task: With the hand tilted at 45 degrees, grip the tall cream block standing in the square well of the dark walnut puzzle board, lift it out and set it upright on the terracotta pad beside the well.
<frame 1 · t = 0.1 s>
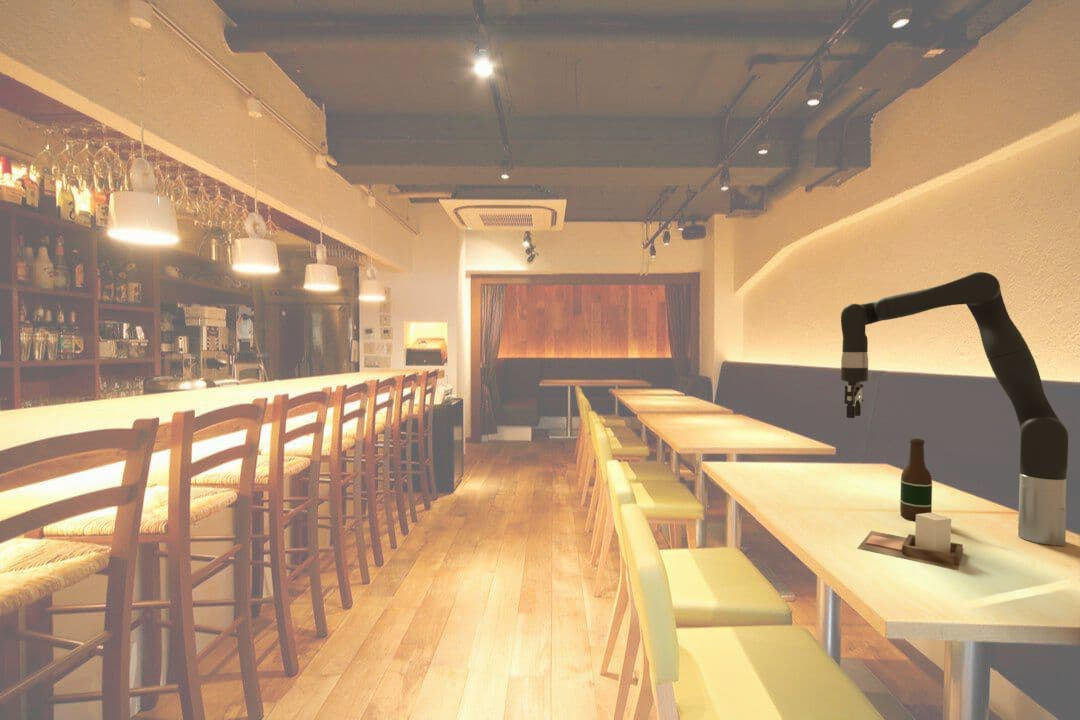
hand: (853, 416, 176), 29 cm above the table, tool pointing down, fingers open, 8 cm apart
beer bottle: (915, 518, 165), on the table
cream block: (932, 553, 133), point 1 cm above the table, touching puzzle board
puzzle board: (910, 553, 136), on the table
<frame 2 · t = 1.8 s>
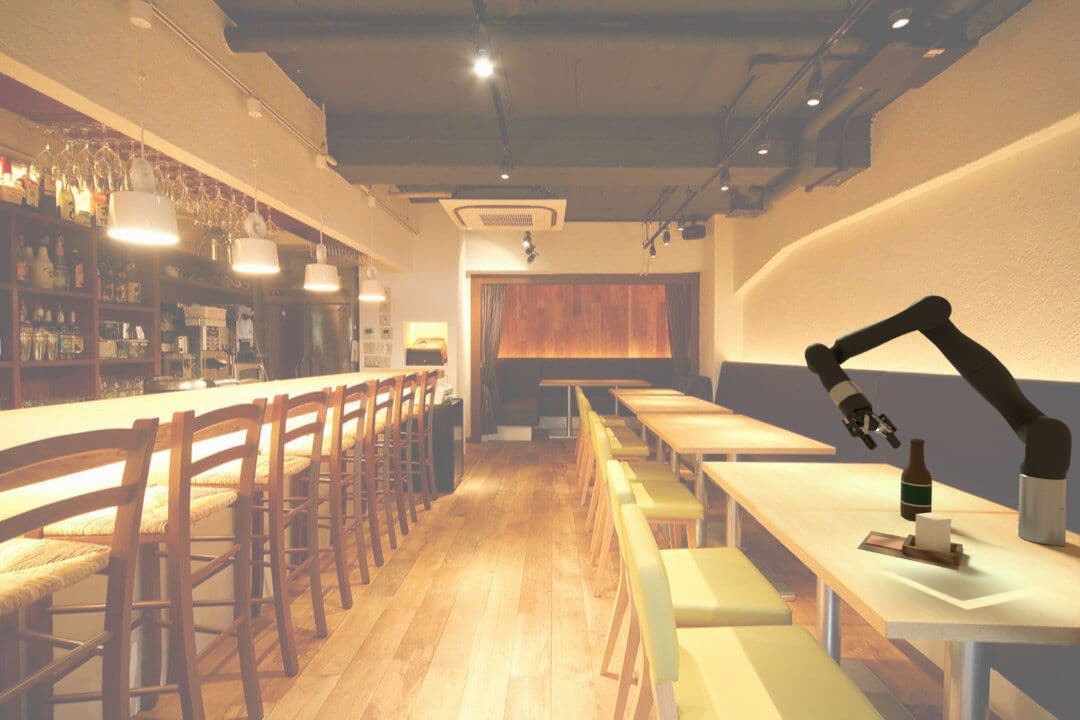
hand: (886, 447, 145), 25 cm above the table, tool tilted 45°, fingers open, 8 cm apart
nothing on the table moved.
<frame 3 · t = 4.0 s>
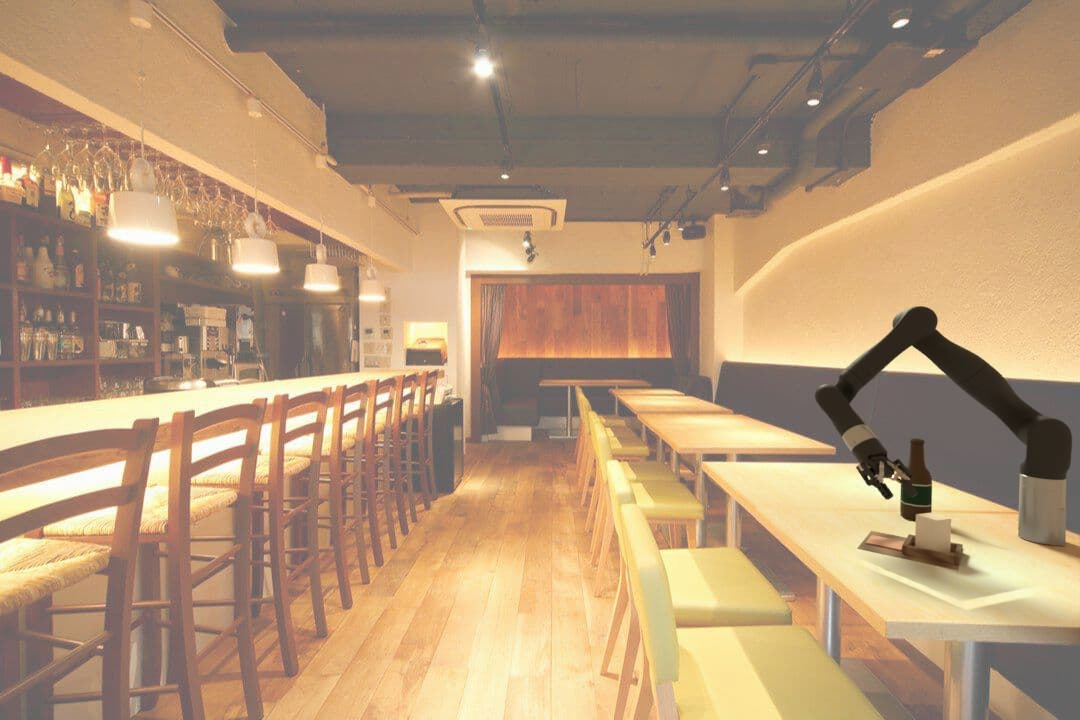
hand: (902, 496, 141), 13 cm above the table, tool tilted 45°, fingers open, 8 cm apart
nothing on the table moved.
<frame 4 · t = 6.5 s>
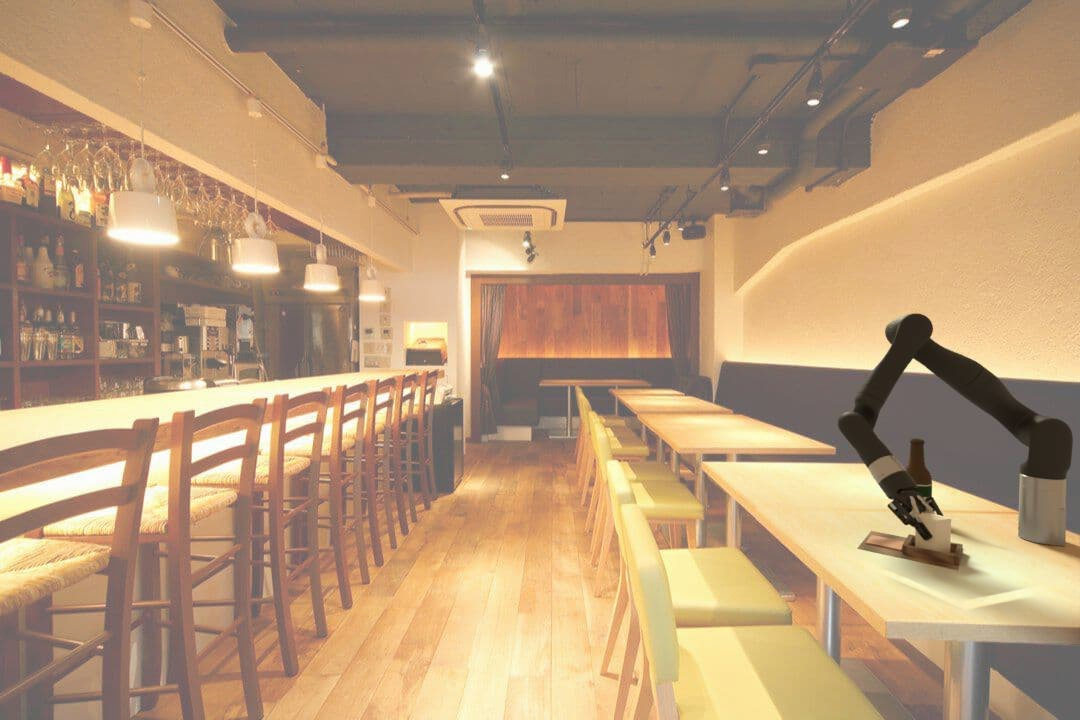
hand: (937, 537, 132), 5 cm above the table, tool tilted 45°, fingers closed on cream block, 5 cm apart
cream block: (932, 553, 133), point 1 cm above the table, touching gripper, puzzle board
everything else where it was.
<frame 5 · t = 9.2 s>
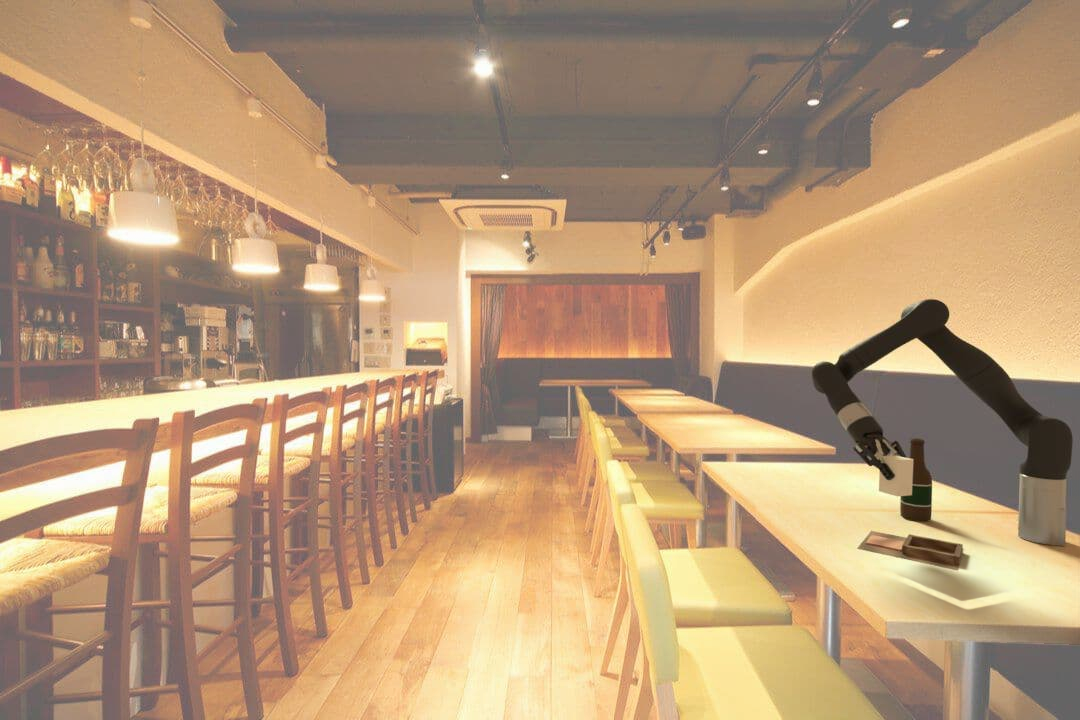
hand: (899, 477, 137), 19 cm above the table, tool tilted 45°, fingers closed on cream block, 5 cm apart
cream block: (895, 493, 138), point 15 cm above the table, touching gripper
everything else where it was.
when the fingers open (7 cm above the table, at t = 12.0 s): cream block drops 1 cm, resting on puzzle board.
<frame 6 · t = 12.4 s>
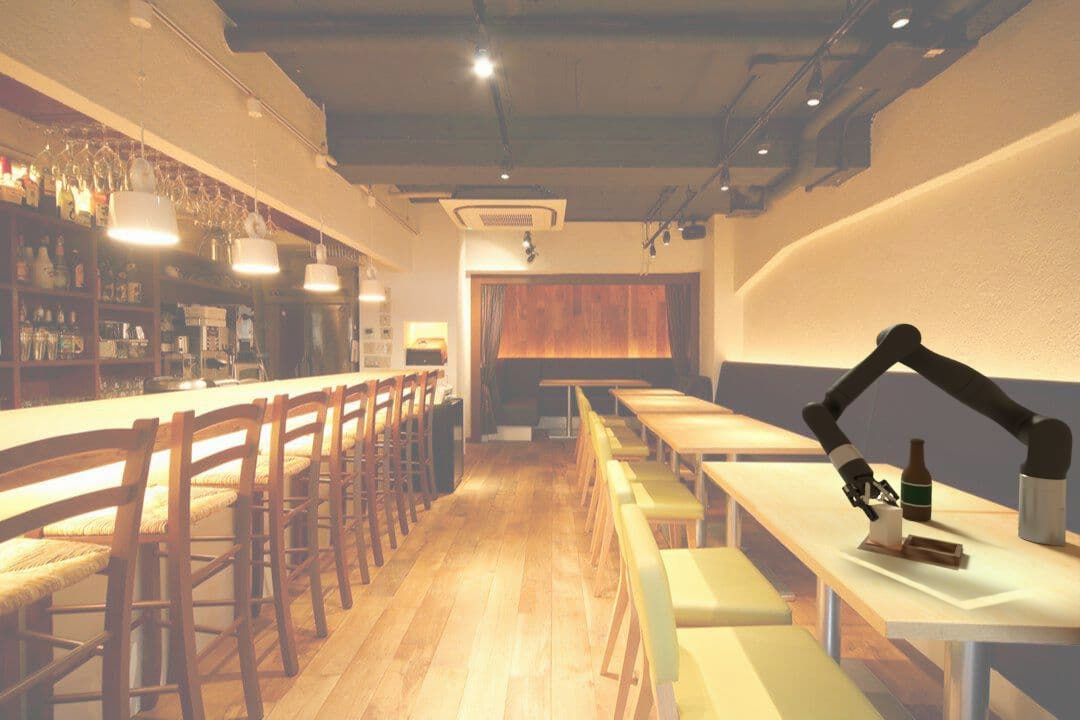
hand: (888, 518, 139), 8 cm above the table, tool tilted 45°, fingers open, 8 cm apart
cream block: (885, 541, 140), point 2 cm above the table, touching puzzle board
everything else where it was.
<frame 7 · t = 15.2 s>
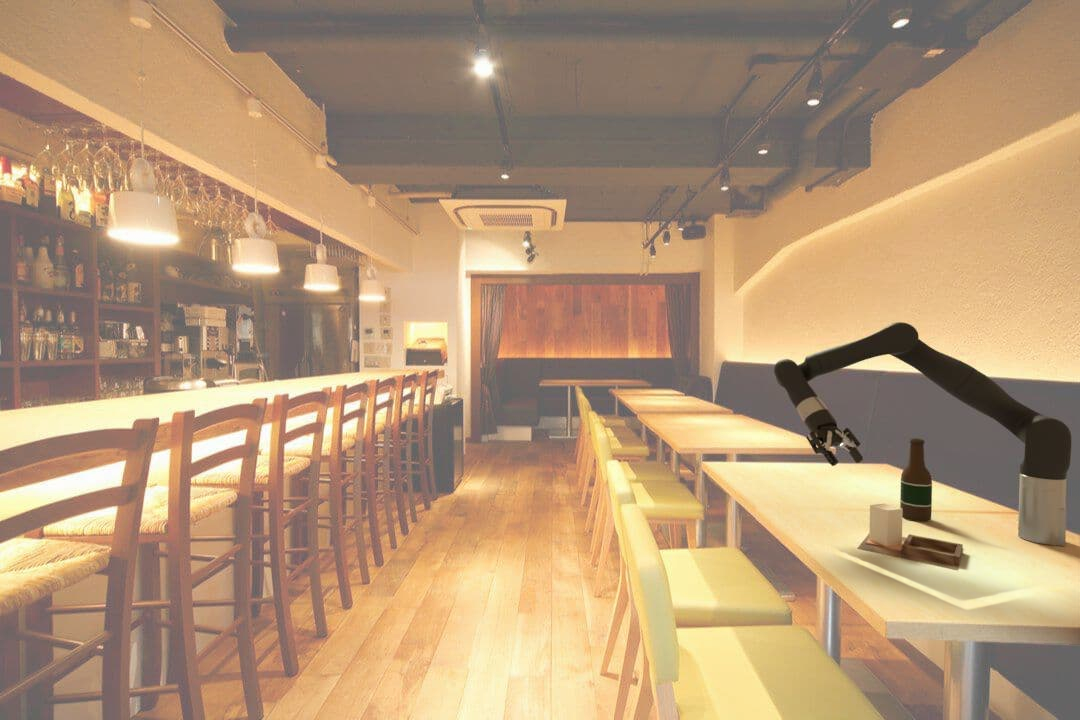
hand: (847, 462, 151), 19 cm above the table, tool tilted 45°, fingers open, 8 cm apart
nothing on the table moved.
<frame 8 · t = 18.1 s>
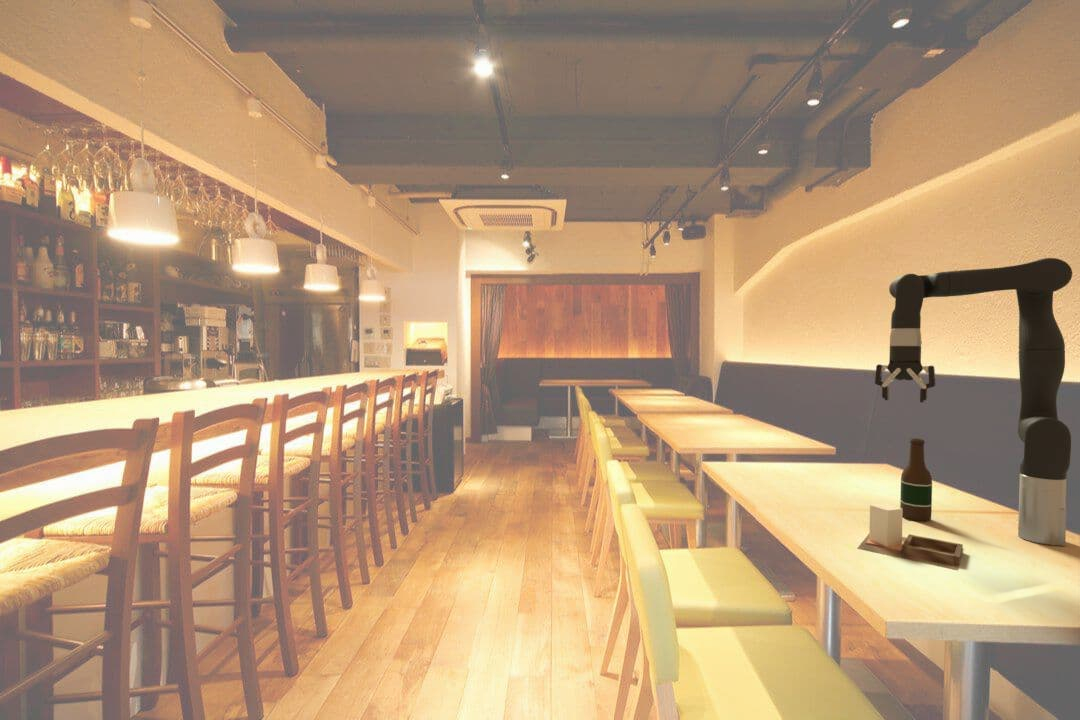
hand: (904, 401, 157), 36 cm above the table, tool pointing down, fingers open, 8 cm apart
nothing on the table moved.
at the end: cream block inside the target area on the puzzle board (0.1 cm from its centre), point 1.6 cm above the puzzle board's base; cream block tilted 0°; the gripper is holding nothing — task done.
